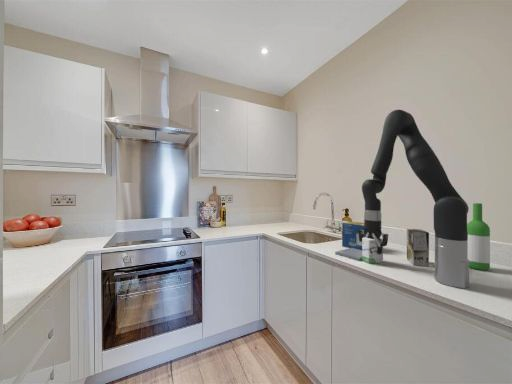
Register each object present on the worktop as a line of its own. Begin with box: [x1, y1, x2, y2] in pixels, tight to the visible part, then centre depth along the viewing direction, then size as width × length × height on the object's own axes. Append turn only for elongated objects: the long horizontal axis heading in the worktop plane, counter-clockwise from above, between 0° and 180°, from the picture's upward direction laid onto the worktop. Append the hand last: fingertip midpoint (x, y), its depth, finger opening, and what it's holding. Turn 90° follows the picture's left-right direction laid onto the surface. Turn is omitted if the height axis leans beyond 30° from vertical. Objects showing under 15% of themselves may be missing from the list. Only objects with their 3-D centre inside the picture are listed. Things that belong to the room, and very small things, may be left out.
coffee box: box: [406, 228, 430, 267], centre depth 101 cm, size 9×6×16 cm
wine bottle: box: [467, 202, 491, 271], centre depth 95 cm, size 8×8×30 cm
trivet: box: [334, 248, 362, 262], centre depth 114 cm, size 14×16×1 cm
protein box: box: [341, 220, 366, 250], centre depth 129 cm, size 10×15×16 cm
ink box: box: [361, 238, 384, 264], centre depth 103 cm, size 8×5×12 cm, turn 103°
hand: (372, 252), depth 103 cm, fingers closed on ink box, 6 cm apart
